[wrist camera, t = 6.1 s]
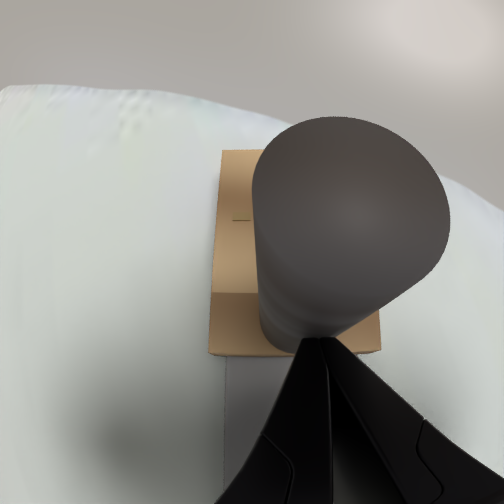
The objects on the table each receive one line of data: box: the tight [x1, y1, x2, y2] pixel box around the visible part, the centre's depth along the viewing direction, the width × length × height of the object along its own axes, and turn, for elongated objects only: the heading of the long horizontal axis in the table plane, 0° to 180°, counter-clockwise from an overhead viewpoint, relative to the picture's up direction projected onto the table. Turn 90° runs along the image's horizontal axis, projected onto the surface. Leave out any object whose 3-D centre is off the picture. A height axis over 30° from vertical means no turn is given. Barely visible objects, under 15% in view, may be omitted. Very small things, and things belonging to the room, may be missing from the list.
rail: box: [224, 354, 357, 504], centre depth 11 cm, size 16×6×7 cm, turn 179°
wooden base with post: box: [208, 117, 450, 357], centre depth 10 cm, size 10×7×11 cm
